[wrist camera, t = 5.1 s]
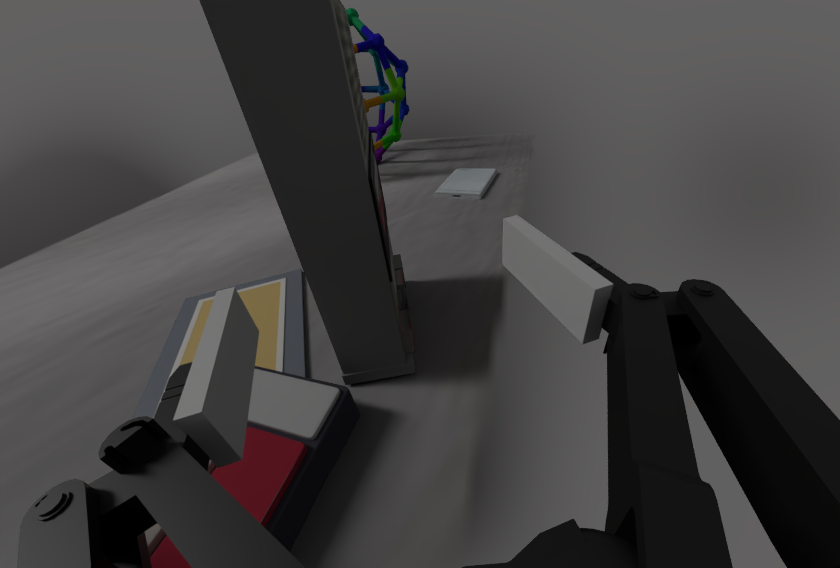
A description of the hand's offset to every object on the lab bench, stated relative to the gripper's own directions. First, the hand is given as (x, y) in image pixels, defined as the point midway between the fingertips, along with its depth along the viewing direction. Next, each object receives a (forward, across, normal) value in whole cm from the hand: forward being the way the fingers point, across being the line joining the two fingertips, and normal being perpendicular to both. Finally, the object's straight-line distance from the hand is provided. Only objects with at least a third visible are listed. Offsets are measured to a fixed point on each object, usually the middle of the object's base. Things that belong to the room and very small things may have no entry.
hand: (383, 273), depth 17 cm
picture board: (+16, -15, -14) cm, 25 cm away
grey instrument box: (+12, 0, -14) cm, 18 cm away
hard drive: (+42, +22, -14) cm, 50 cm away
